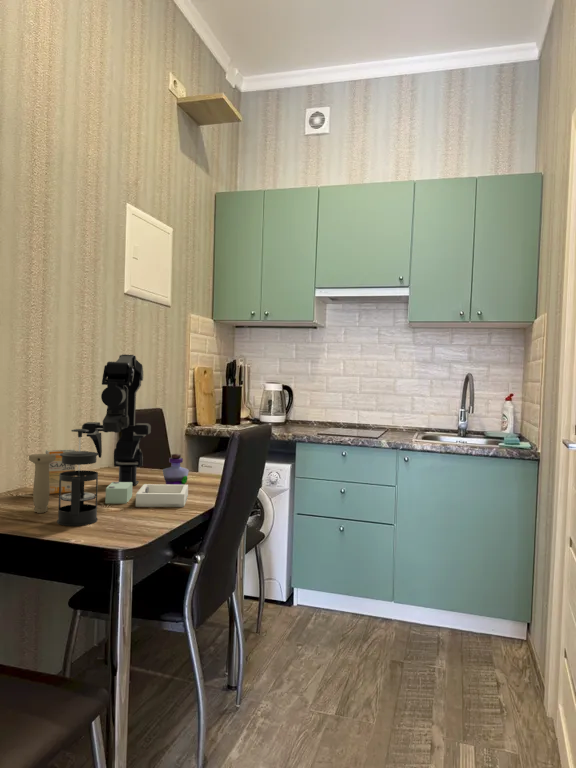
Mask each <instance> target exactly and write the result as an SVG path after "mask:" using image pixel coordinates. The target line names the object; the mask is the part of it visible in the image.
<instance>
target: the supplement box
mask: <svg viewBox="0 0 576 768" xmlns="http://www.w3.org/2000/svg"><path fill="white" fill-rule="evenodd" d="M73 451H76V450H75V449H45V454H53V455H56V458H55V460H54V461H53V462H51V463H50V464H49V485H50V489H49V490H50V494H49V495H51V494H59V475H60V473H62V472H67V471H76V465H68V464H63V463H62V456H60V454H61V453H66V452H73ZM71 485H72V482H66V481H61V494H67V493H71Z"/></svg>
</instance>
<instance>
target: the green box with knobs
mask: <svg viewBox="0 0 576 768" xmlns="http://www.w3.org/2000/svg"><path fill="white" fill-rule="evenodd" d="M132 484H133V482H119V481H112V482H111V483H110V484H109V485H107V487H105V498H104V499H105V500H104V501H105V504H128V503H129V501H130V500H131V498H132V497H133V485H132ZM127 502H128V503H127Z"/></svg>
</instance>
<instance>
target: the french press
mask: <svg viewBox="0 0 576 768" xmlns="http://www.w3.org/2000/svg"><path fill="white" fill-rule="evenodd" d="M70 431H71V432H72V433H73V432H75V433H77V438H78V450H75V451H73V452H66V453H61V454H60V456H62V463H63V464H68V465H75V466H77V469H78V470H75V471H67V472H62V473H60V475H59V493H58V511H57V512H58V513H57V514H58V517H57V518H58V519H57V521H56V523H57V525H59V524H60V526H63V525H64V526H65V527H82V525H84V526H88V524H89V525H92V523H93V524H95V523H97V522H98V517H97V516H98V515H97V512H98V486H99V485H98V483H99V479H98V477H99V473H98V472H97V471H94V470H81V466H82V465H94V464H96V463H97V458H98V457H97V456H98V453H97V451H96V452H95V451H87V450H81V444H82V443H81V442H82V441H81V439H82V438H83V433H82V432H87V431H89V430H87V429H82V428H75V429H71V430H70ZM61 481H66V482H72V485H71V492H67V493H63V494H62V493H61ZM91 481H95V482H96V484H95V493H93V492H86V491H85V482H91ZM94 499H95V505H94V504H88V503H84V502H86V501H91V500H94ZM62 501H65V502H70V504H67V505H64V506H61V503H62ZM64 526H63V527H64Z"/></svg>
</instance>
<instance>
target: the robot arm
mask: <svg viewBox="0 0 576 768" xmlns="http://www.w3.org/2000/svg"><path fill="white" fill-rule="evenodd" d="M103 367H104V368H103V374H102V380H101V385H105V386H106V387H105V388H104V389H103V390H102V392H101V396H100V397H101V401H102V404H104V405H105V406H106V414H105V416H104V417H103V420H102V424H101V422H99V421H98V422H97V421H95V422H93V421H92V422H91V421H87V422H85V423H83V424H82V425H81V429H87V430H89V431H87V432H82V434H86V437H89V438H90V439H91V440H92V442H93V444H94V446H95V449H96V453H98V455H97V456H98V458H102V453H103V449H102V447H103V446H102V432H104V433H115V434H117V433H120V432H121V437H120V438H119V439H118V440H117V442H116V444H115V448H114V450H113V467H114V468H116V467H118V482H133V484H132V486H137V485H138V484H139V481H140V480H137V467H138V468H140V467H143V466H144V465H143V463H144V462H143V461H144V459H143V458H144V456H143V451H142V449H141V448H140V442H141V441H142V438H145V437H146V436H147V435H150V434H151V432H152V431H151V430H152V426H151V424H150V423H148V422H147V423H146V422H144V423H141V422H137V423H136V407H137V406H136V404H137V403H136V401H137V393H138V391H139V389H140V388H141V386H142V382H143V381H144V368H143V367H144V366H143V364H142V363H141V362H139V361H138V360H137V356H136V355H134V354H120V355H119V356H118V359H117V360H116V361H107V363H106V364H105V365H104V366H103Z"/></svg>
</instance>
